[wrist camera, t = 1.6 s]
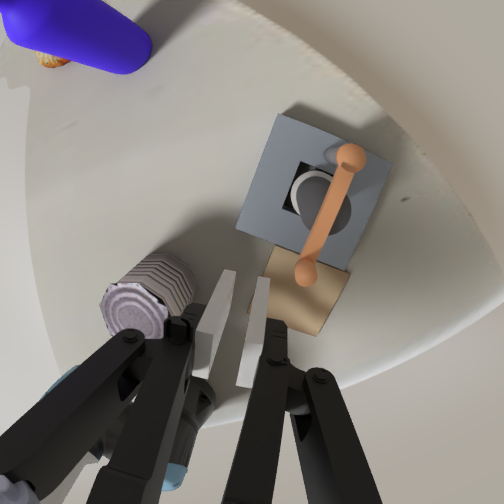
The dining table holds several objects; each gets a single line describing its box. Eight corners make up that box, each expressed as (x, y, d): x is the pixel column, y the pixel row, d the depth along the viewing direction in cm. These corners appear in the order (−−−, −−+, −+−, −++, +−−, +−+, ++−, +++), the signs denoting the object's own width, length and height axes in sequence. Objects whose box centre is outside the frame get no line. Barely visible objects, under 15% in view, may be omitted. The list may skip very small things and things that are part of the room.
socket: (340, 262, 43) (360, 306, 30) (238, 223, 42) (219, 254, 30) (385, 162, 37) (426, 170, 25) (278, 115, 37) (276, 100, 24)
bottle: (163, 33, 33) (27, -58, 5) (140, 81, 36) (-26, 35, 8) (121, 27, 33) (-16, -38, 5) (100, 71, 36) (-56, 40, 8)
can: (179, 326, 49) (155, 370, 38) (125, 290, 48) (89, 327, 37) (210, 277, 45) (188, 318, 34) (149, 238, 44) (110, 267, 33)
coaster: (315, 334, 47) (315, 336, 47) (247, 311, 47) (246, 313, 46) (349, 272, 43) (350, 274, 42) (275, 244, 43) (275, 245, 42)
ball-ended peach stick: (311, 276, 29) (314, 290, 26) (287, 267, 29) (288, 281, 26) (366, 150, 25) (377, 151, 22) (341, 139, 24) (349, 137, 21)
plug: (324, 219, 41) (341, 250, 29) (283, 203, 41) (283, 227, 28) (341, 179, 39) (367, 193, 26) (299, 161, 38) (308, 167, 26)
